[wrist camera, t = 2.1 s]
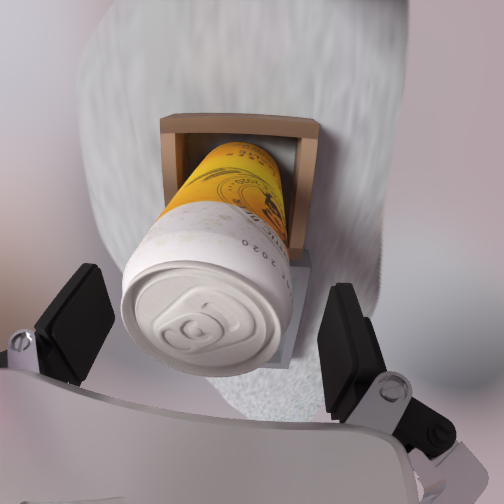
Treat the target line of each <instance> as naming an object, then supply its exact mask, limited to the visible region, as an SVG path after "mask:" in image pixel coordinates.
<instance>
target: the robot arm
mask: <svg viewBox="0 0 504 504" xmlns="http://www.w3.org/2000/svg"><path fill="white" fill-rule="evenodd" d="M114 321H115V314H114V311H113V308H112V305H111V302H110V299H109V296H108V293H107V289H106V286H105V283H104V279H103V276H102V272H101V269H100V268H98V266H97V265H96V264H89V263H84V264H82V265H81V267H80V268H79V269H78V270H77V271H76V272H75V274H74V275H73V276H72V278H70V280H69V281H68V282H67V283H66V285H65V286H64V287H63V289H62V290H61V291H60V292H59V293H58V295H57V296H56V297H55V299H54V300H53V301H52V302H51V304H50V305H49V306H48V308H47V309H46V311H45V312H44V313H43V315H42V316H41V317H40V319H39V320H38V322H37V323H36V324H35V326H34V327H35V329H36V331H35V333H33V332H32V331H31V330H29V329H23V330H19V331H17V332H16V333H14V334H13V335H12V336H11V338H10V339H9V341H8V346H7V347H8V349H7V350H6V351H3V352H0V504H474V503H475V501H476V500H477V498H479V496H480V495H481V494H482V493H483V491H484V490H485V488H486V486H487V484H488V480H489V477H488V472H487V470H486V469H485V468H484V467H483V465H482V464H481V463H480V462H479V461H478V459H477V458H476V457H475V456H474V455H473V454H472V452H471V451H470V450H469V449H468V448H467V447H466V446H465V445H464V444H463V442H462V441H461V442H459V443H458V441H457V440H456V430H455V427H454V425H453V424H452V422H451V421H449V420H448V419H447V418H445V417H444V416H442V415H440V414H439V413H437V412H435V411H434V410H432V409H431V408H429V407H428V406H426V405H424V404H423V403H421V402H420V401H418V400H416V399H415V398H413V397H412V386H411V384H410V382H409V381H408V379H407V378H406V377H404V376H403V375H402V374H400V373H397V372H392V371H388V372H387V369H386V366H385V363H384V359H383V356H382V353H381V350H380V347H379V344H378V341H377V338H376V335H375V332H374V329H373V326H372V323H371V321H370V319H369V318H368V317H363V314H362V311H361V308H360V305H359V302H358V299H357V296H356V294H355V291H354V288H353V285H352V284H351V283H337V284H336V286H332V287H331V289H330V293H329V296H328V300H327V304H326V308H325V311H324V315H323V318H322V322H321V325H320V329H319V332H318V337H317V343H318V350H319V357H320V365H321V372H322V380H323V388H324V397H325V406H326V412H327V413H331V419H332V420H339V421H340V423H319V422H318V423H316V422H275V421H255V420H241V419H230V418H220V417H211V416H203V415H197V414H190V413H184V412H177V411H172V410H166V409H160V408H156V407H151V406H146V405H142V404H137V403H133V402H129V401H125V400H121V399H117V398H113V397H109V396H106V395H102V394H99V393H95V392H92V391H89V390H85V389H82V388H79V387H80V384H81V382H82V381H84V380H85V379H86V377H87V375H88V373H89V371H90V369H91V367H92V365H93V363H94V361H95V359H96V357H97V355H98V353H99V351H100V349H101V347H102V345H103V343H104V341H105V339H106V337H107V335H108V333H109V331H110V329H111V328H112V325H113V323H114ZM68 382H69V384H67V383H68ZM70 384H72V385H70ZM73 385H75V386H73ZM76 386H78V387H76ZM413 471H415V472H416V473H417V475H418V476H419V478H418V480H419V481H420V482H421V484H422V486H423V488H424V495H423V498H422V500H421V501H420V502H419V498H418V491H417V485H416V481H415V476H414V472H413Z"/></svg>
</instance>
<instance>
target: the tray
mask: <svg viewBox="0 0 504 504" xmlns="http://www.w3.org/2000/svg"><path fill="white" fill-rule="evenodd" d="M289 264H290V275H291V286H292V298H293V313H292V318H291V321H290V324H289V326H288V328H287V330H286V331H285V333H284V335H283V336H282V338H281V342H280V345H279V347H278V350H277V351H276V353H275V354H274V356H273V357H272V358H271V359H270V360H269V361H268V362H266V363H265V364H264V365H262V366H261V367H259V368H278V369H288V368H289V364H290V360H291V356H292V352H293V348H294V344H295V340H296V336H297V332H298V328H299V323H300V319H301V314H302V310H303V305H304V301H305V296H306V292H307V287H308V282H309V277H310V272H311V263H310V258H309V253H308V251H307V250H303V253H302V259H301V260H293V259H289Z"/></svg>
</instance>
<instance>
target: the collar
mask: <svg viewBox="0 0 504 504" xmlns="http://www.w3.org/2000/svg"><path fill="white" fill-rule="evenodd" d="M319 127H320V124H319V123H317V122H316V121H315V120H313V119H308V118H299V117H289V116H277V115H262V114H241V113H184V114H172V115H169V116H167V117H164V118H161V119H160V138H161V158H162V174H163V187H164V199H165V208H166V207H167V205H168V204H169V203H170V201H171V200H172V199H173V197H174V196H175V195H176V193H177V192H178V191H179V190H180V188H181V187H182V186H183V184H184V183H185V182H186V181H187V179H188V151H187V133H240V134H260V135H275V136H288V137H297V143H296V154H295V164H294V174H293V183H292V193H291V202H290V211H289V219H288V228H286V233H287V243H288V253H289V259H293V260H301V259H302V253H303V246H304V240H305V234H306V227H307V221H308V214H309V207H310V200H311V193H312V186H313V178H314V170H315V162H316V154H317V145H318V136H319Z"/></svg>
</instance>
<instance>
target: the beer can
mask: <svg viewBox="0 0 504 504" xmlns="http://www.w3.org/2000/svg"><path fill="white" fill-rule="evenodd" d="M122 288H123V297H122V301H121V315H122V320H123V323H124V325H125V327H126V329H127V331H128V333H129V335H130V336H131V337H132V339H133V340H134V341H135V342H136V344H137V345H138V346H139V347H140V348H141V349H142V350H143V351H145V352H146V353H147V354H149V355H150V356H151V357H153V358H154V359H156V360H157V361H159V362H161V363H163V364H164V365H167V366H169V367H171V368H173V369H176V370H178V371H182V372H185V373H188V374H193V375H198V376H205V377H230V376H236V375H241V374H245V373H248V372H251V371H253V370H255V369H257V368H259V367H261V366H262V365H264V364H265V363H266V362H268V361H269V360H270V359H271V358H272V357H273V356H274V354H275V353H276V351H277V350H278V347H279V345H280V342H281V338H282V336H283V335H284V333H285V331H286V330H287V328H288V326H289V324H290V321H291V318H292V313H293V298H292V286H291V275H290V264H289V253H288V243H287V233H286V223H285V214H284V205H283V196H282V187H281V179H280V173H279V169H278V167H277V165H276V163H275V161H274V160H273V158H272V157H271V156H270V155H269V154H268V153H267V152H266V151H265V150H263V149H262V148H260V147H258V146H256V145H254V144H251V143H247V142H230V143H226V144H223V145H220V146H218V147H217V148H215V149H213V150H212V151H211V152H210V153H209V154H208V155H207V156H206V157H205V158H204V160H203V161H202V162H201V163H200V164H199V166H198V167H197V168H196V169H195V171H194V172H193V173H192V174H191V176H190V177H189V178H188V179H187V181H186V182H185V183H184V184H183V186H182V187H181V188H180V190H179V191H178V192H177V193H176V195H175V196H174V197H173V199H172V200H171V201H170V203H169V204H168V205H167V207H166V208H165V209H164V211H163V212H162V213H161V215H160V216H159V218H158V219H157V220H156V222H155V223H154V224H153V226H152V227H151V229H150V230H149V231H148V233H147V234H146V236H145V237H144V239H143V240H142V241H141V243H140V244H139V246H138V247H137V249H136V250H135V252H134V253H133V255H132V256H131V258H130V259H129V261H128V263H127V265H126V267H125V270H124V274H123V282H122Z"/></svg>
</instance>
